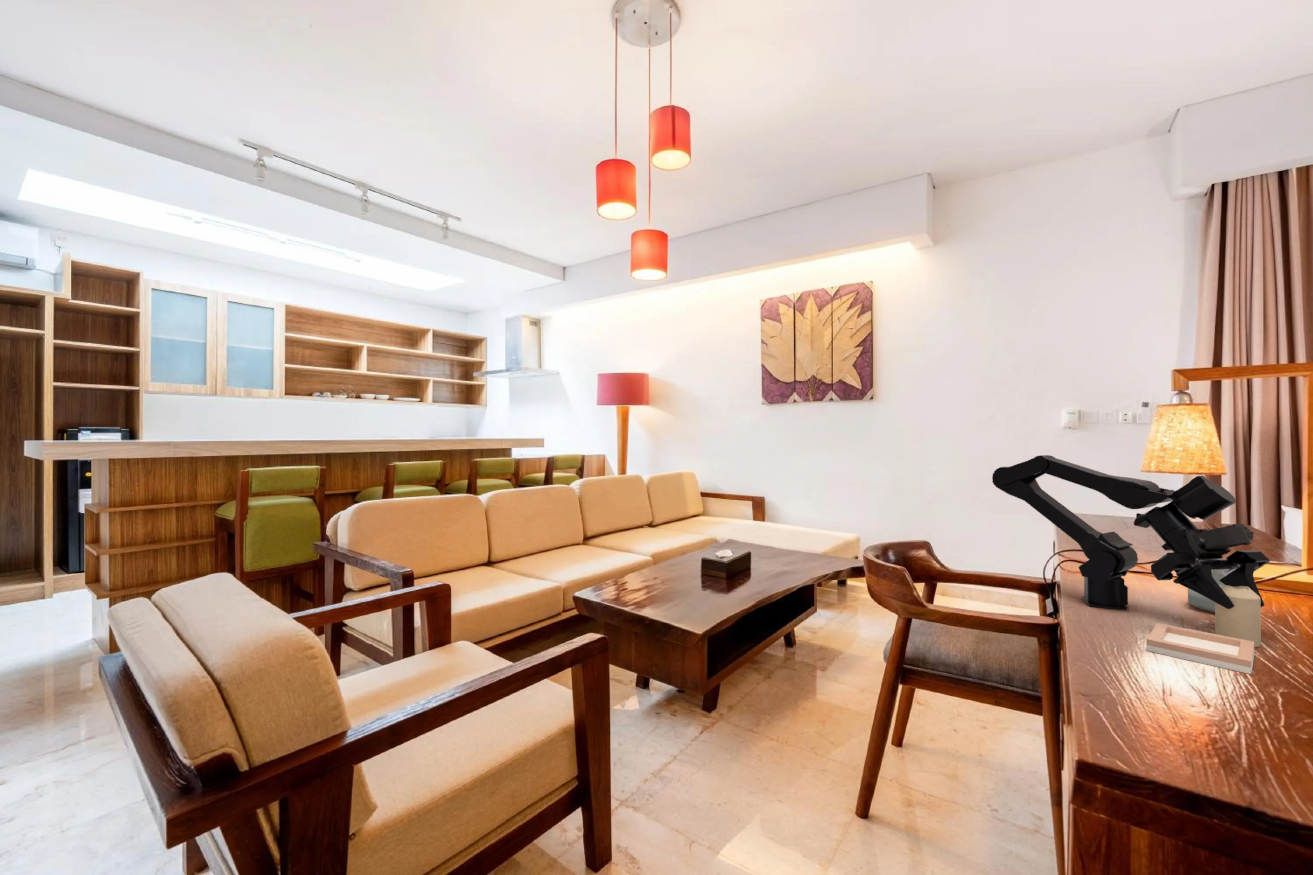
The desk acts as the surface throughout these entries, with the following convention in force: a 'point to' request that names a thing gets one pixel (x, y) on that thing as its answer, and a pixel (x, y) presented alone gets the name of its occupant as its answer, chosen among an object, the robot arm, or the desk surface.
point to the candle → (1240, 615)
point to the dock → (1202, 647)
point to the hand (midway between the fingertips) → (1246, 607)
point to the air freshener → (1201, 600)
